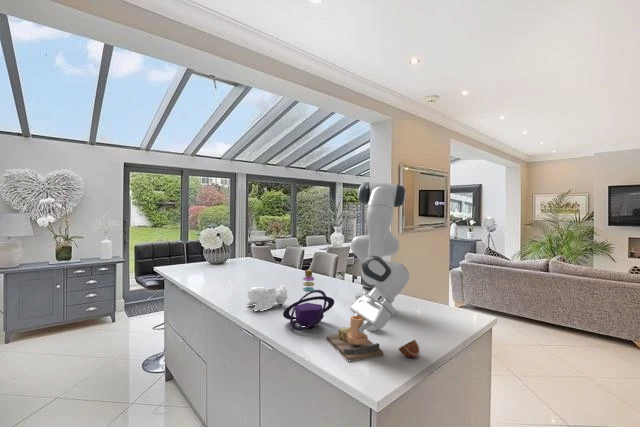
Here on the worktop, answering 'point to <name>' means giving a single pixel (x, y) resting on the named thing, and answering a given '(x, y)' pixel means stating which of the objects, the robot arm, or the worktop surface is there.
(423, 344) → the worktop surface
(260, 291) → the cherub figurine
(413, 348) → the fruit slice
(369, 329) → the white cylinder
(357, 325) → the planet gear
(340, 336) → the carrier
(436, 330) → the worktop surface
